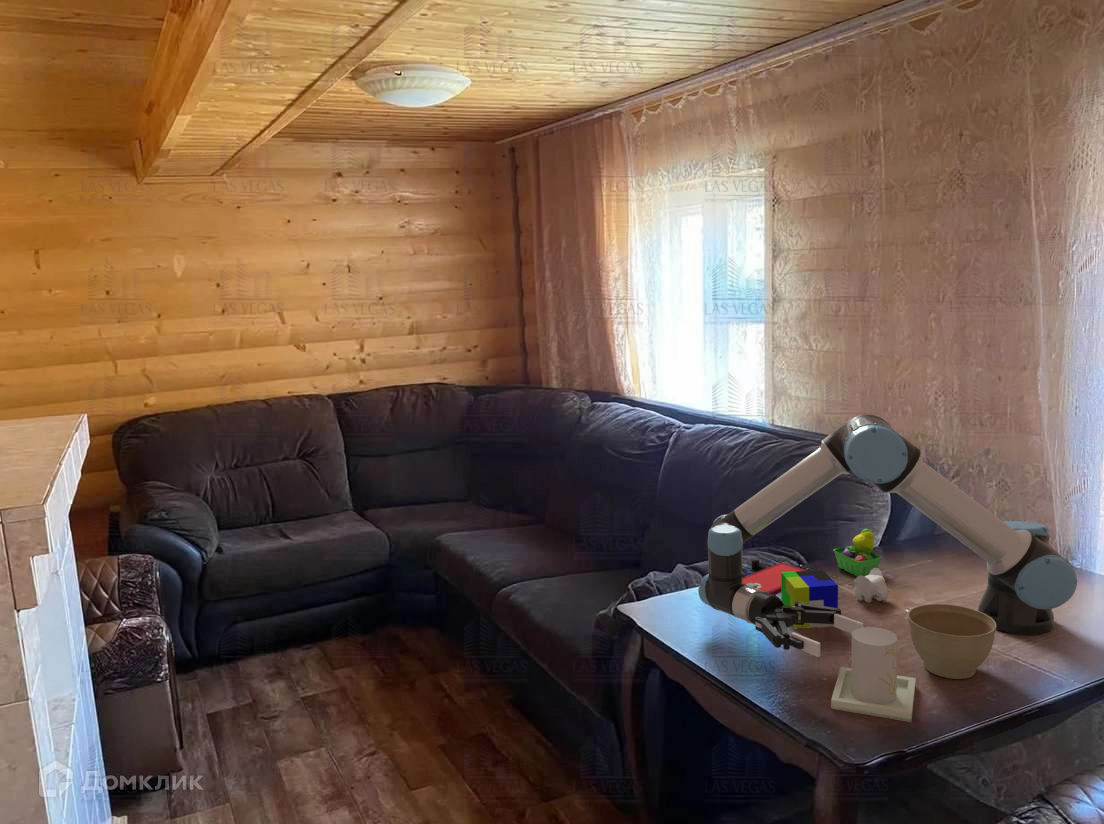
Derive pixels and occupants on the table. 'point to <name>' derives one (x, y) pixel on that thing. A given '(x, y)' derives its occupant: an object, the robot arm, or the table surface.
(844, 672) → the tray
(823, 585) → the puzzle toy
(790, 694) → the table surface
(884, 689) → the white cylinder
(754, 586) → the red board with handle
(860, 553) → the fruit basket
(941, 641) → the planter bowl
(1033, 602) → the robot arm
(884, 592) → the elephant figurine
